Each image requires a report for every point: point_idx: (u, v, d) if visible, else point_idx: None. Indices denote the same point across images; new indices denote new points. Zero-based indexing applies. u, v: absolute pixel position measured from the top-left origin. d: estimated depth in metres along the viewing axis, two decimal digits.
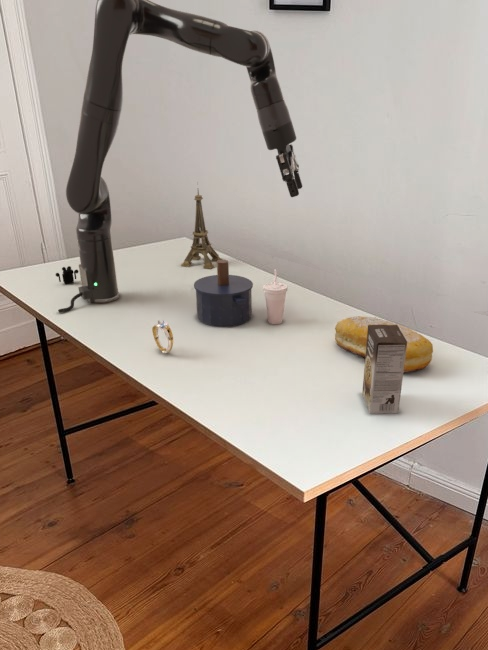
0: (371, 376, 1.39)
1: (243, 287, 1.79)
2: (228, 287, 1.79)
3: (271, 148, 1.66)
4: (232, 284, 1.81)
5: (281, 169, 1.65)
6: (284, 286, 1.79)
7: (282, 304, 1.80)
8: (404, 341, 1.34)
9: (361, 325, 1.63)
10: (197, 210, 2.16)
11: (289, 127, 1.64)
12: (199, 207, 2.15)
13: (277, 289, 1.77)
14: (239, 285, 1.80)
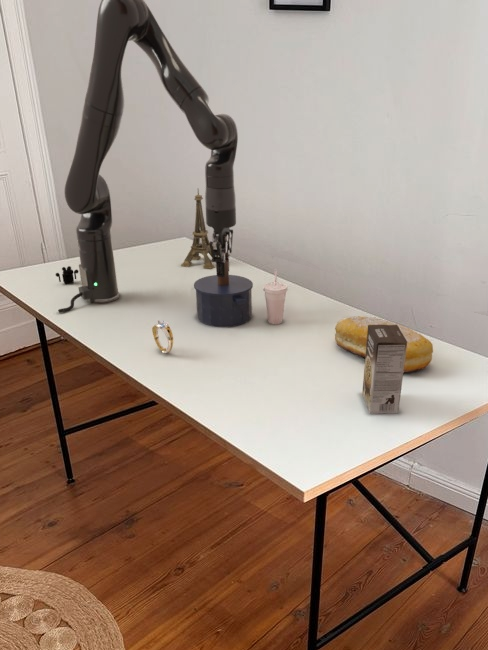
0: (371, 376, 1.39)
1: (243, 287, 1.79)
2: (228, 287, 1.79)
3: (208, 225, 1.70)
4: (232, 284, 1.81)
5: (213, 254, 1.72)
6: (284, 286, 1.79)
7: (282, 304, 1.80)
8: (404, 341, 1.34)
9: (361, 325, 1.63)
10: (197, 210, 2.16)
11: (230, 213, 1.69)
12: (199, 207, 2.15)
13: (277, 289, 1.77)
14: (239, 285, 1.80)
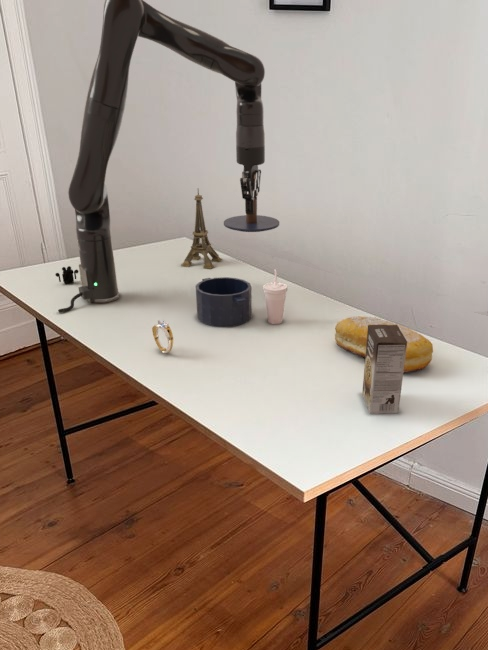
0: (371, 376, 1.39)
1: (270, 224, 1.89)
2: (256, 224, 1.88)
3: (239, 163, 1.80)
4: (260, 222, 1.90)
5: (243, 190, 1.81)
6: (284, 286, 1.79)
7: (282, 304, 1.80)
8: (404, 341, 1.34)
9: (361, 325, 1.63)
10: (197, 210, 2.16)
11: (260, 151, 1.78)
12: (199, 207, 2.15)
13: (277, 289, 1.77)
14: (267, 223, 1.90)
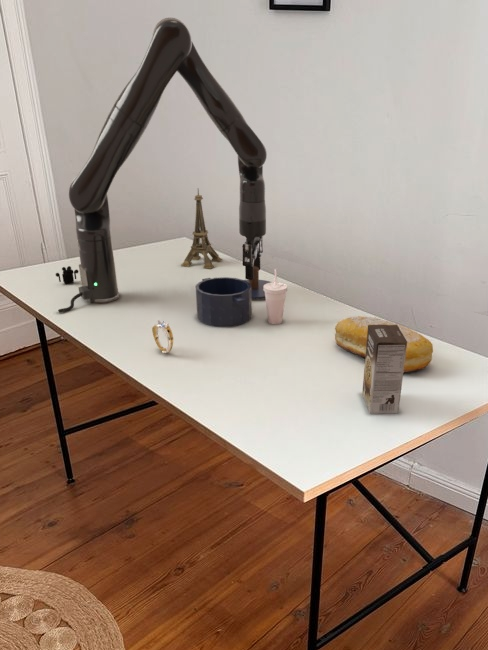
0: (371, 376, 1.39)
1: None
2: (258, 291, 2.00)
3: (242, 234, 1.91)
4: (261, 288, 2.02)
5: (244, 256, 1.90)
6: (284, 286, 1.79)
7: (282, 304, 1.80)
8: (404, 341, 1.34)
9: (361, 325, 1.63)
10: (197, 210, 2.16)
11: (261, 224, 1.90)
12: (199, 207, 2.15)
13: (277, 289, 1.77)
14: None
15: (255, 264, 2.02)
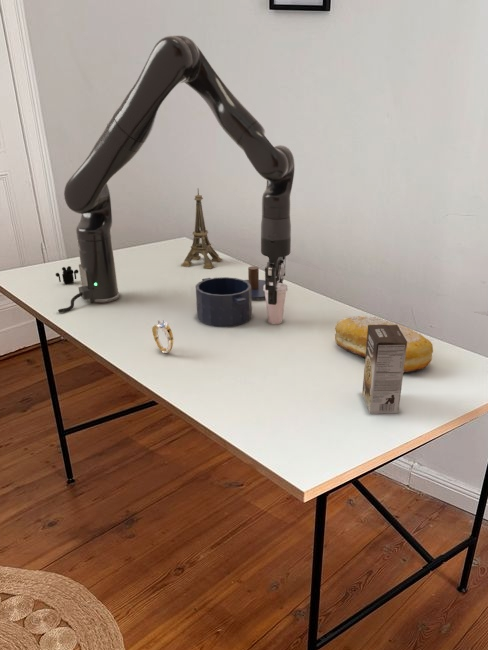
0: (371, 376, 1.39)
1: None
2: (258, 291, 2.00)
3: (264, 254, 1.72)
4: (261, 288, 2.02)
5: (266, 280, 1.71)
6: (284, 286, 1.79)
7: (282, 304, 1.80)
8: (404, 341, 1.34)
9: (361, 325, 1.63)
10: (197, 210, 2.16)
11: (286, 243, 1.70)
12: (199, 207, 2.15)
13: (277, 289, 1.77)
14: None
15: None
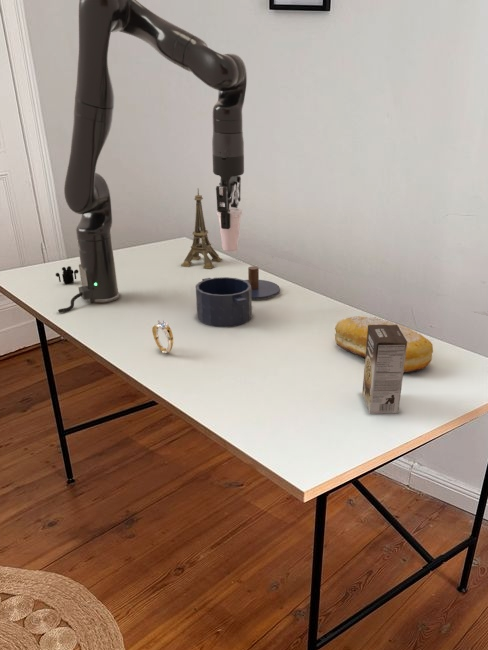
0: (371, 376, 1.39)
1: (271, 290, 2.00)
2: (258, 291, 2.00)
3: (215, 173, 1.63)
4: (261, 288, 2.02)
5: (218, 201, 1.63)
6: (238, 210, 1.70)
7: (236, 229, 1.71)
8: (404, 341, 1.34)
9: (361, 325, 1.63)
10: (197, 210, 2.16)
11: (238, 161, 1.61)
12: (199, 207, 2.15)
13: (231, 212, 1.68)
14: (268, 289, 2.01)
15: None
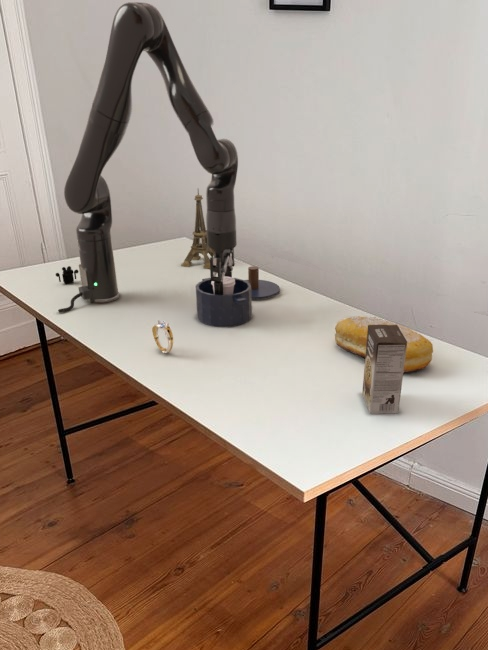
0: (371, 376, 1.39)
1: (271, 290, 2.00)
2: (258, 291, 2.00)
3: (209, 247, 1.73)
4: (261, 288, 2.02)
5: (211, 271, 1.73)
6: (232, 280, 1.81)
7: None
8: (404, 341, 1.34)
9: (361, 325, 1.63)
10: (197, 210, 2.16)
11: (231, 236, 1.72)
12: (199, 207, 2.15)
13: (224, 283, 1.79)
14: (268, 289, 2.01)
15: None
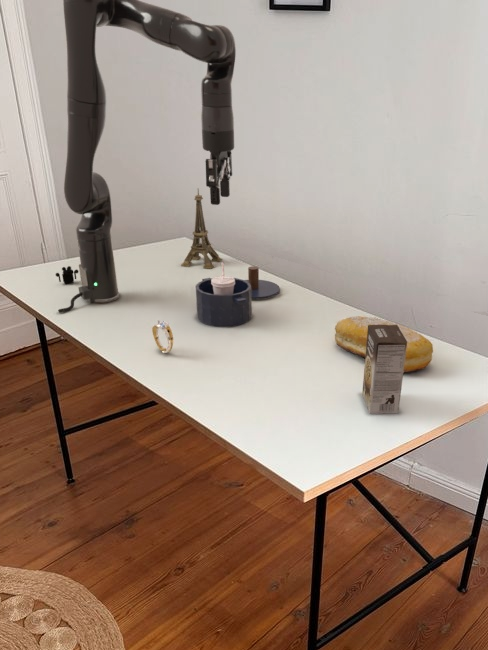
0: (371, 376, 1.39)
1: (271, 290, 2.00)
2: (258, 291, 2.00)
3: (205, 149, 1.61)
4: (261, 288, 2.02)
5: (207, 174, 1.60)
6: (232, 280, 1.81)
7: None
8: (404, 341, 1.34)
9: (361, 325, 1.63)
10: (197, 210, 2.16)
11: (228, 135, 1.59)
12: (199, 207, 2.15)
13: (224, 283, 1.79)
14: (268, 289, 2.01)
15: (223, 189, 1.71)
